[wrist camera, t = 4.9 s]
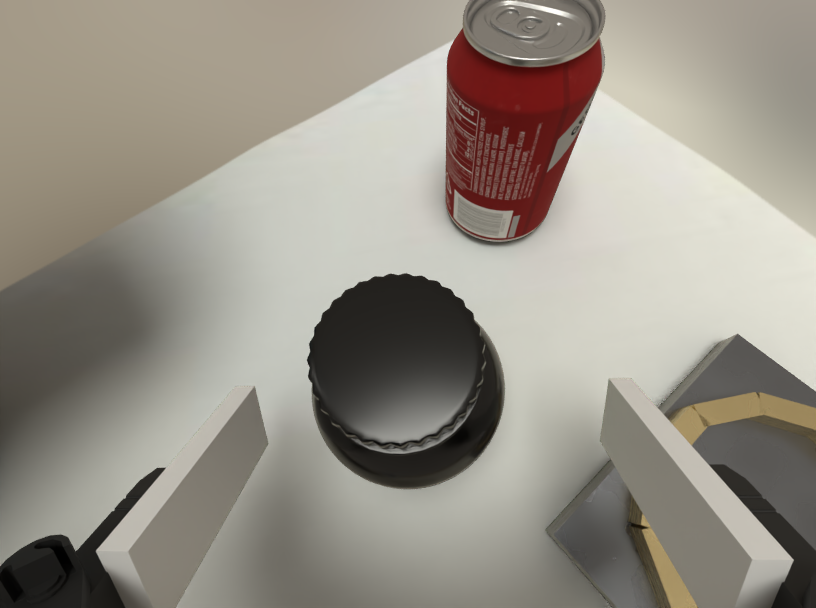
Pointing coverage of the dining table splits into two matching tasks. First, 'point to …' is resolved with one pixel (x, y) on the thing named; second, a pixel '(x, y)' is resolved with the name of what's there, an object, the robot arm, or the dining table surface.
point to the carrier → (717, 444)
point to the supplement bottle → (404, 382)
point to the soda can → (517, 108)
